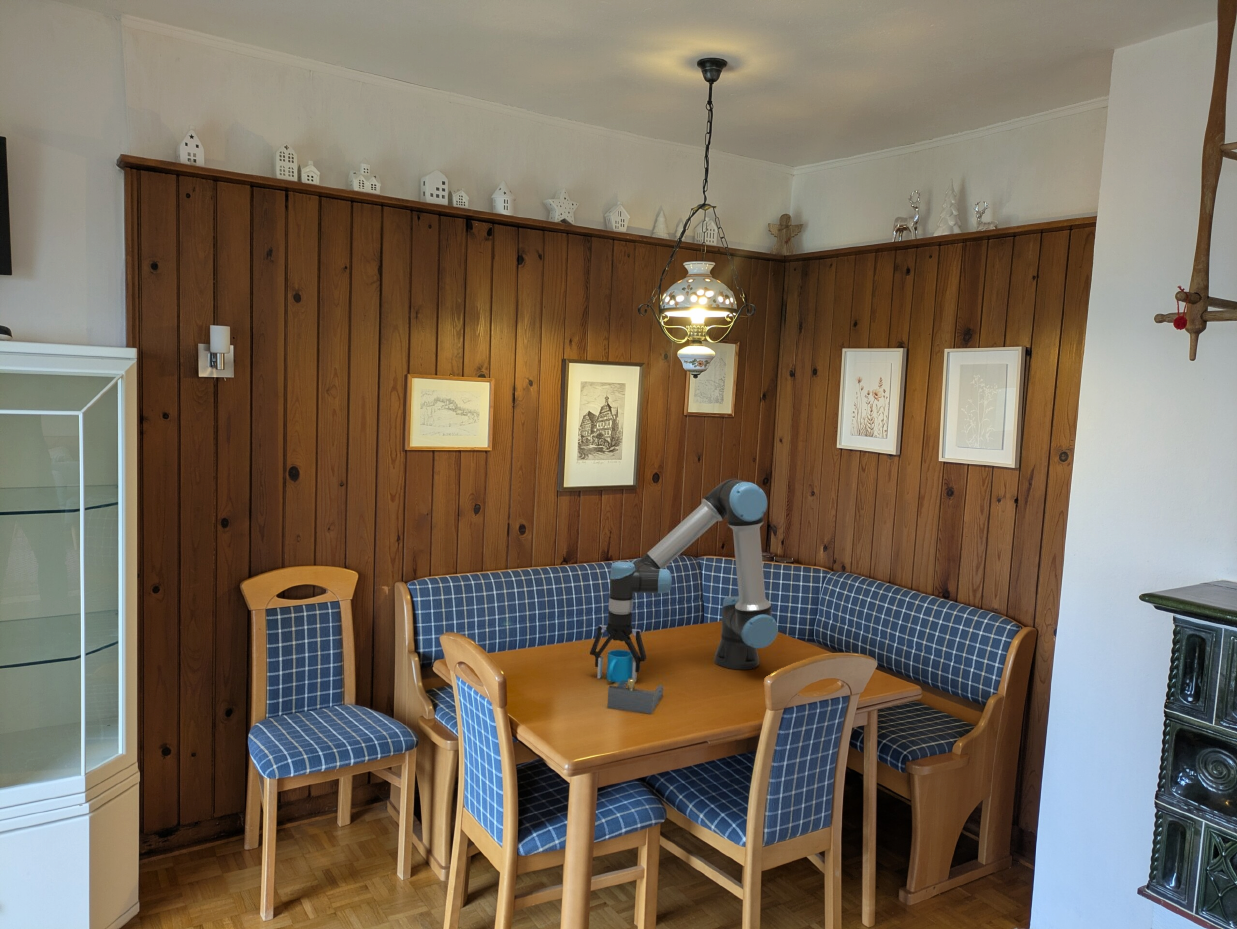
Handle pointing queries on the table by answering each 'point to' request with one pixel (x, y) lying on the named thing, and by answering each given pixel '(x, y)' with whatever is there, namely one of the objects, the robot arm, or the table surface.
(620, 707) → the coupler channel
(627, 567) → the robot arm
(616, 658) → the mug
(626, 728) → the table surface
